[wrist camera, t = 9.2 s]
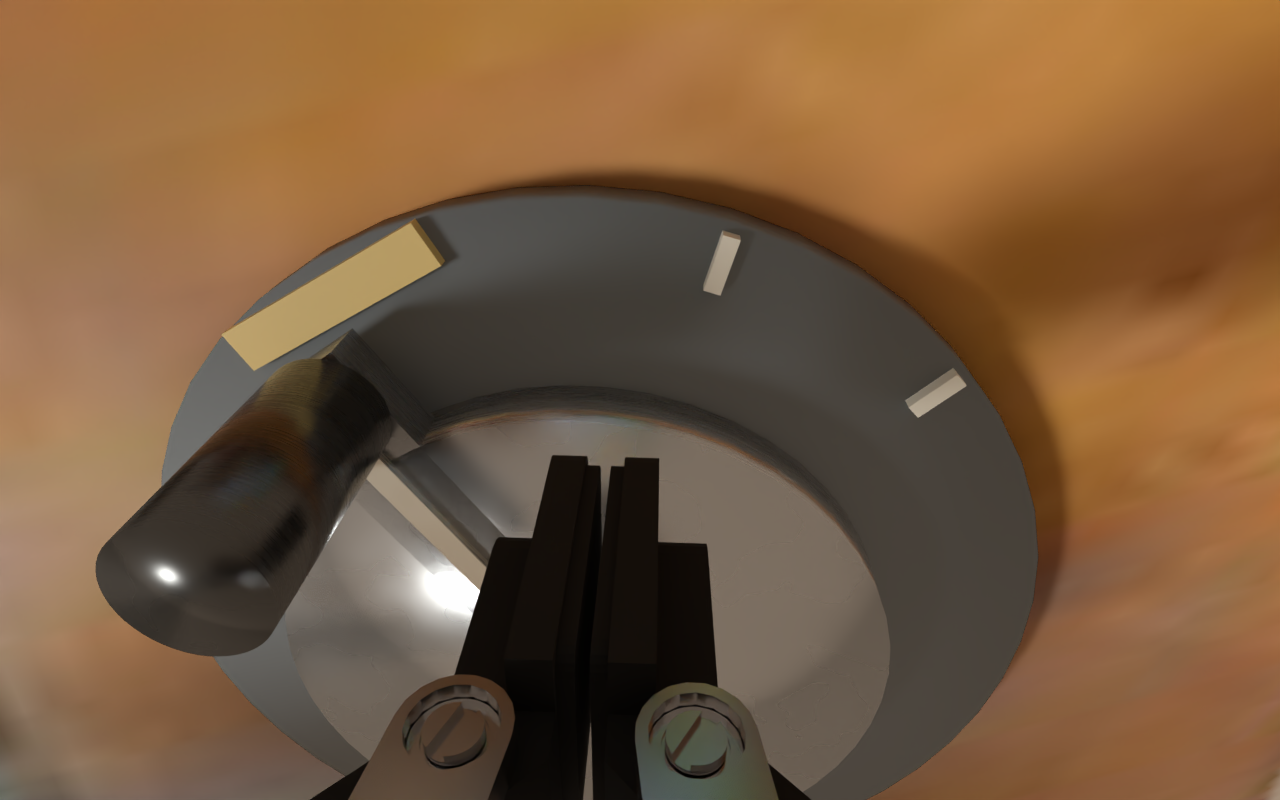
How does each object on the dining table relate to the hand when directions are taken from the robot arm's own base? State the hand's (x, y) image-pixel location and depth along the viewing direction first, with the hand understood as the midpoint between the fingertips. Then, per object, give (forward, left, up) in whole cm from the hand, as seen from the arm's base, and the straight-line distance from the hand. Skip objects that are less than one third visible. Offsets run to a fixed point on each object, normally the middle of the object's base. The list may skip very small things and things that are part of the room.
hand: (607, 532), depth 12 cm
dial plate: (-8, -1, -6) cm, 10 cm away
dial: (-7, 0, -5) cm, 8 cm away
